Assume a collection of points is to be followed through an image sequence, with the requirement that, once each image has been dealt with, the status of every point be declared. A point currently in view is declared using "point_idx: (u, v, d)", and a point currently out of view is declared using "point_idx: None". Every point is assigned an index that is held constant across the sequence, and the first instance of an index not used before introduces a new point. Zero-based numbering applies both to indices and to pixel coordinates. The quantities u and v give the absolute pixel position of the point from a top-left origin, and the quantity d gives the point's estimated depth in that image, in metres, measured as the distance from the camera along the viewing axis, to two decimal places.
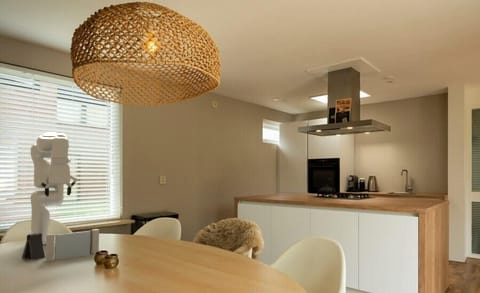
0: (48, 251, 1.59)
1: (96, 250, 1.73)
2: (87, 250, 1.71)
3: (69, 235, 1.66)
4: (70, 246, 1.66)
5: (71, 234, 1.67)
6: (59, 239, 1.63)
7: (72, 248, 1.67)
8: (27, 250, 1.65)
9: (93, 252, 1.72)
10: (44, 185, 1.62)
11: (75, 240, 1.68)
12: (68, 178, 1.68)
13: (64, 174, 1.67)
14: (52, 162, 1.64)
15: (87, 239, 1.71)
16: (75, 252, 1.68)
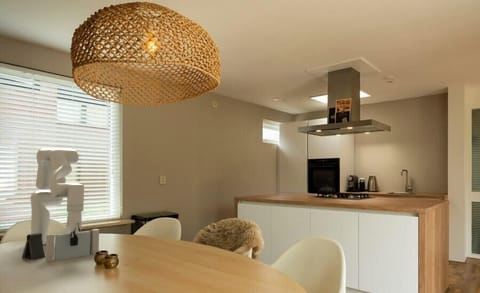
0: (48, 251, 1.59)
1: (96, 250, 1.73)
2: (87, 250, 1.71)
3: (69, 235, 1.66)
4: (70, 246, 1.66)
5: None
6: (59, 239, 1.63)
7: (72, 248, 1.67)
8: (27, 250, 1.65)
9: (93, 252, 1.72)
10: (77, 235, 1.64)
11: None
12: None
13: None
14: (79, 209, 1.64)
15: (87, 239, 1.71)
16: (75, 252, 1.68)
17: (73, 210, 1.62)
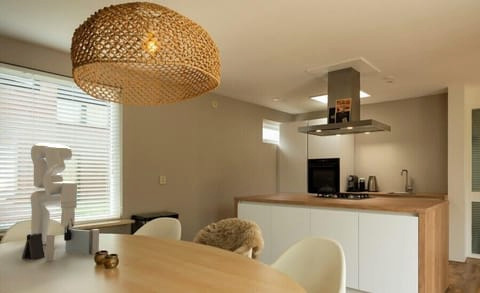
0: (48, 251, 1.59)
1: (96, 250, 1.73)
2: (86, 249, 1.73)
3: (74, 231, 1.76)
4: (75, 242, 1.76)
5: (75, 231, 1.76)
6: None
7: (76, 245, 1.75)
8: (27, 250, 1.65)
9: (93, 252, 1.72)
10: (70, 230, 1.74)
11: (78, 237, 1.75)
12: None
13: None
14: (73, 206, 1.74)
15: (86, 239, 1.73)
16: (78, 249, 1.75)
17: (67, 207, 1.72)
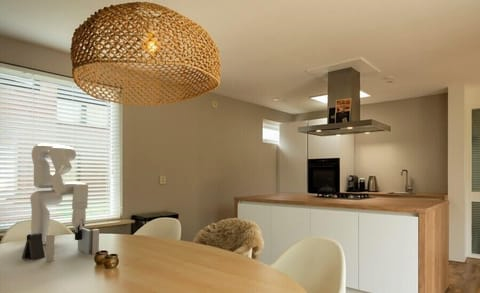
0: (48, 251, 1.59)
1: (96, 250, 1.73)
2: (87, 249, 1.73)
3: (82, 230, 1.80)
4: (82, 240, 1.79)
5: (82, 229, 1.80)
6: None
7: (82, 243, 1.79)
8: (27, 250, 1.65)
9: (93, 252, 1.72)
10: None
11: (84, 236, 1.78)
12: None
13: None
14: (84, 206, 1.79)
15: (87, 238, 1.74)
16: (83, 248, 1.77)
17: (78, 207, 1.77)
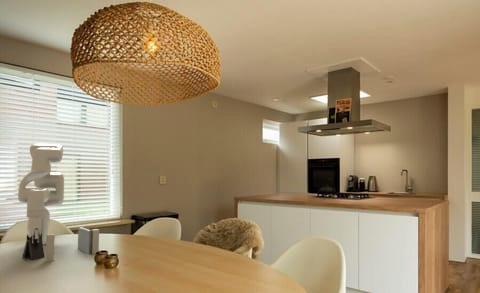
0: (48, 251, 1.59)
1: (96, 250, 1.73)
2: (87, 249, 1.73)
3: (82, 230, 1.80)
4: (82, 240, 1.79)
5: (82, 229, 1.80)
6: (79, 231, 1.83)
7: (83, 243, 1.79)
8: (27, 250, 1.65)
9: (93, 252, 1.72)
10: None
11: (84, 236, 1.78)
12: None
13: None
14: (39, 215, 1.66)
15: (87, 238, 1.74)
16: (83, 248, 1.77)
17: (32, 215, 1.64)
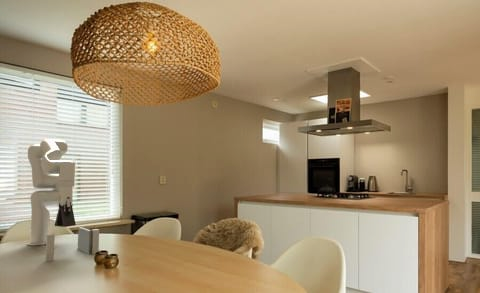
0: (48, 251, 1.59)
1: (96, 250, 1.73)
2: (87, 249, 1.73)
3: (82, 230, 1.80)
4: (82, 240, 1.79)
5: (82, 229, 1.80)
6: (79, 231, 1.83)
7: (83, 243, 1.79)
8: (59, 218, 1.74)
9: (93, 252, 1.72)
10: (69, 209, 1.73)
11: (84, 236, 1.78)
12: None
13: None
14: (70, 185, 1.74)
15: (87, 238, 1.74)
16: (83, 248, 1.77)
17: (64, 185, 1.72)
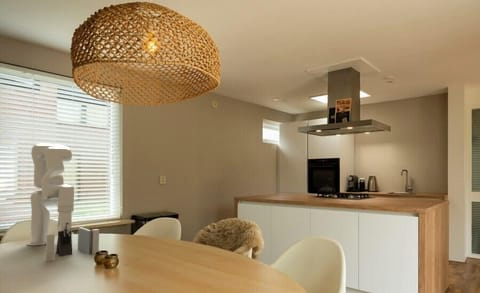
0: (48, 251, 1.59)
1: (96, 250, 1.73)
2: (87, 249, 1.73)
3: (82, 230, 1.80)
4: (82, 240, 1.79)
5: (82, 229, 1.80)
6: (79, 231, 1.83)
7: (83, 243, 1.79)
8: (59, 246, 1.74)
9: (93, 252, 1.72)
10: None
11: (84, 236, 1.78)
12: None
13: None
14: (70, 210, 1.73)
15: (87, 238, 1.74)
16: (83, 248, 1.77)
17: (63, 211, 1.71)
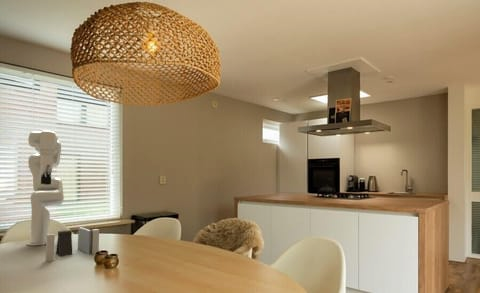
0: (48, 251, 1.59)
1: (96, 250, 1.73)
2: (87, 249, 1.73)
3: (82, 230, 1.80)
4: (82, 240, 1.79)
5: (82, 229, 1.80)
6: (79, 231, 1.83)
7: (83, 243, 1.79)
8: (59, 246, 1.74)
9: (93, 252, 1.72)
10: (50, 174, 1.77)
11: (84, 236, 1.78)
12: None
13: None
14: (51, 153, 1.81)
15: (87, 238, 1.74)
16: (83, 248, 1.77)
17: (45, 154, 1.79)
